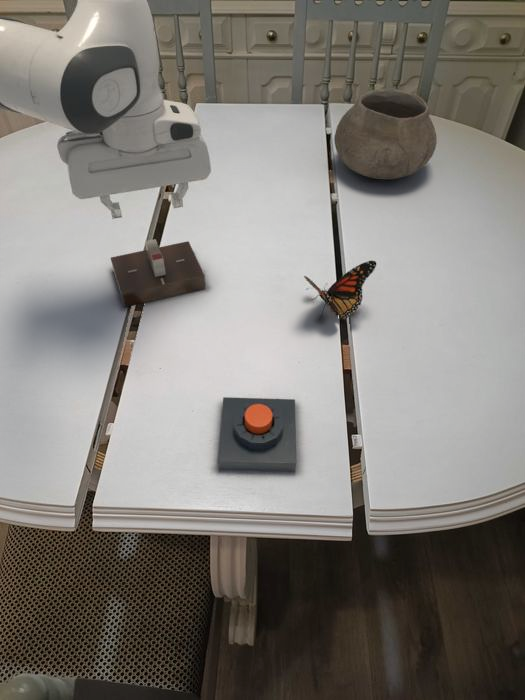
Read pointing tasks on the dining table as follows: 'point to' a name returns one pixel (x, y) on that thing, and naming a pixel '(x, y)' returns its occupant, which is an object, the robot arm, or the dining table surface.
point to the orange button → (258, 418)
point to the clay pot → (386, 134)
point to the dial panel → (145, 287)
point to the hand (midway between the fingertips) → (147, 210)
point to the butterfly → (346, 290)
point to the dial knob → (155, 258)
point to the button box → (257, 437)
